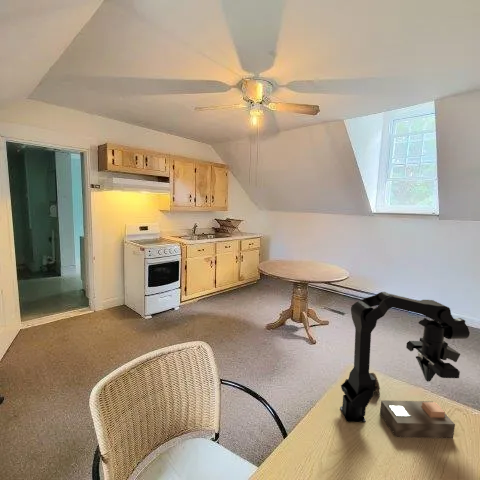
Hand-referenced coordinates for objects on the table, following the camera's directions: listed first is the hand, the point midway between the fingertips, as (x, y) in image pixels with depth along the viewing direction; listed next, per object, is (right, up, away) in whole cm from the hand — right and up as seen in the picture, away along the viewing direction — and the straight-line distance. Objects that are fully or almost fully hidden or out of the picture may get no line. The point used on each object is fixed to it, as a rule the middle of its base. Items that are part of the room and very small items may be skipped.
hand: (427, 380), depth 97 cm
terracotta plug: (-2, -11, -5) cm, 12 cm away
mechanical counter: (-17, -10, +14) cm, 24 cm away
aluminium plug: (-13, -12, -4) cm, 18 cm away
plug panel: (-7, -13, -4) cm, 15 cm away
